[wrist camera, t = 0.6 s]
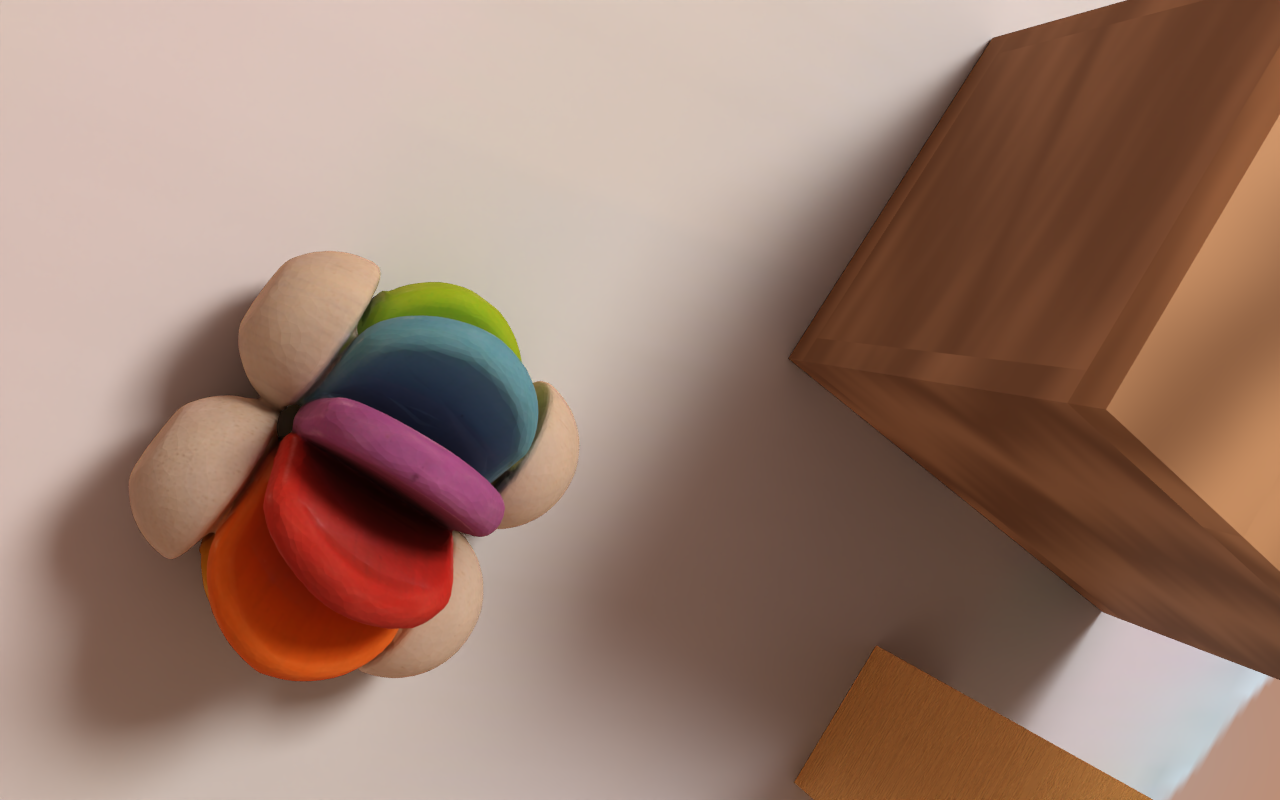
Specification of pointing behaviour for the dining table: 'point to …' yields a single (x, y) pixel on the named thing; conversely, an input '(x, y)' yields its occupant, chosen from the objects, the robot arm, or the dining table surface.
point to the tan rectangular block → (939, 748)
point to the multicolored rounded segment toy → (356, 471)
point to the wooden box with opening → (1095, 312)
